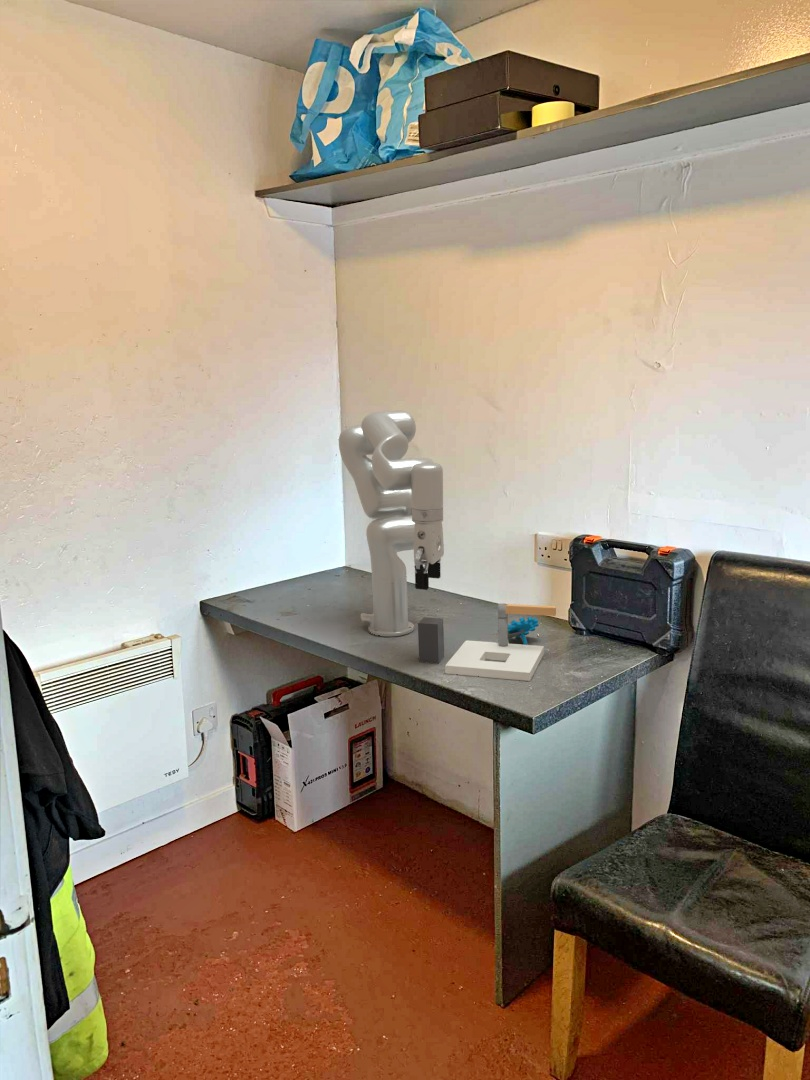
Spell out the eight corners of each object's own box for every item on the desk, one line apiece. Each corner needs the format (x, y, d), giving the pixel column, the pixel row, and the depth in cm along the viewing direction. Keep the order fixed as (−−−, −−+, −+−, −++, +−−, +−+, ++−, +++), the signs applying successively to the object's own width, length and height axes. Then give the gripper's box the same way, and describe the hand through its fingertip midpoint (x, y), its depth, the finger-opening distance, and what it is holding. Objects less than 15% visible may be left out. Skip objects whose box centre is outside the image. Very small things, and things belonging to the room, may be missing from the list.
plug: (419, 662, 202) (417, 623, 200) (425, 655, 206) (423, 617, 204) (438, 663, 200) (437, 624, 198) (444, 656, 205) (443, 618, 203)
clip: (555, 620, 200) (555, 608, 199) (497, 617, 204) (497, 605, 203) (556, 617, 202) (556, 605, 201) (498, 614, 206) (498, 603, 205)
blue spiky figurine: (534, 629, 219) (539, 611, 211) (541, 648, 216) (547, 631, 207) (494, 637, 218) (498, 620, 209) (501, 657, 214) (505, 641, 206)
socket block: (445, 673, 193) (444, 636, 192) (466, 647, 211) (465, 613, 209) (529, 681, 187) (529, 642, 185) (543, 653, 204) (543, 618, 203)
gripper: (431, 523, 187) (432, 594, 191) (452, 508, 203) (452, 574, 207) (400, 521, 189) (401, 592, 193) (423, 506, 205) (424, 572, 209)
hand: (428, 583), depth 200 cm, fingers open, 9 cm apart
